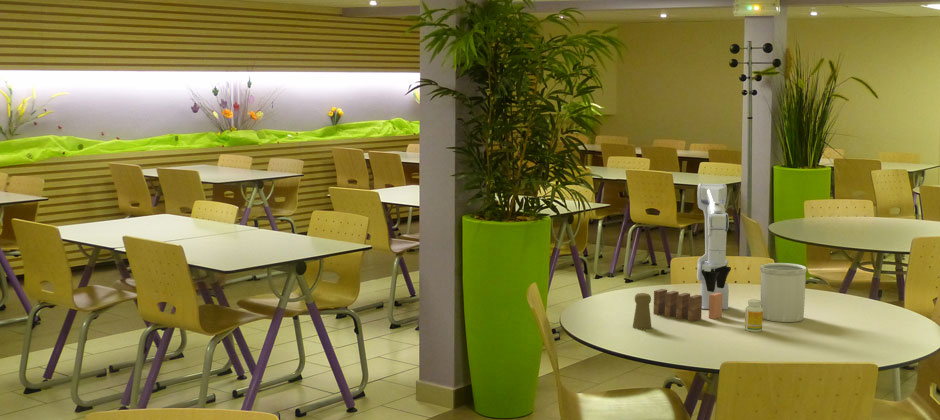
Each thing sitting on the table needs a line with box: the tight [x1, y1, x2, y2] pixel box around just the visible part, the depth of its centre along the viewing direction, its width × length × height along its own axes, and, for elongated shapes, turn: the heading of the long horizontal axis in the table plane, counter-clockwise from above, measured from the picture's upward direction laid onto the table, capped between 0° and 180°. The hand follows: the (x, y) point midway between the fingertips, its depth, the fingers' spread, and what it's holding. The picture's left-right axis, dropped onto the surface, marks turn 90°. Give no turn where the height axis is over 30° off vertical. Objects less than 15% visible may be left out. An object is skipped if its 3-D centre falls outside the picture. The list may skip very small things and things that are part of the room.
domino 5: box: [708, 292, 723, 320], centre depth 332 cm, size 2×5×8 cm, turn 136°
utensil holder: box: [759, 262, 808, 323], centre depth 331 cm, size 15×15×18 cm
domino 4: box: [687, 294, 703, 322], centre depth 328 cm, size 2×5×8 cm, turn 136°
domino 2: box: [664, 290, 680, 318], centre depth 334 cm, size 2×5×8 cm, turn 136°
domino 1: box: [653, 288, 668, 316], centre depth 337 cm, size 2×5×8 cm, turn 136°
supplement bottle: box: [744, 298, 763, 333], centre depth 314 cm, size 5×5×10 cm
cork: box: [632, 292, 652, 330], centre depth 318 cm, size 6×6×11 cm
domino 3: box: [675, 292, 691, 320], centre depth 331 cm, size 2×5×8 cm, turn 136°
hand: (715, 289), depth 331 cm, fingers open, 7 cm apart
